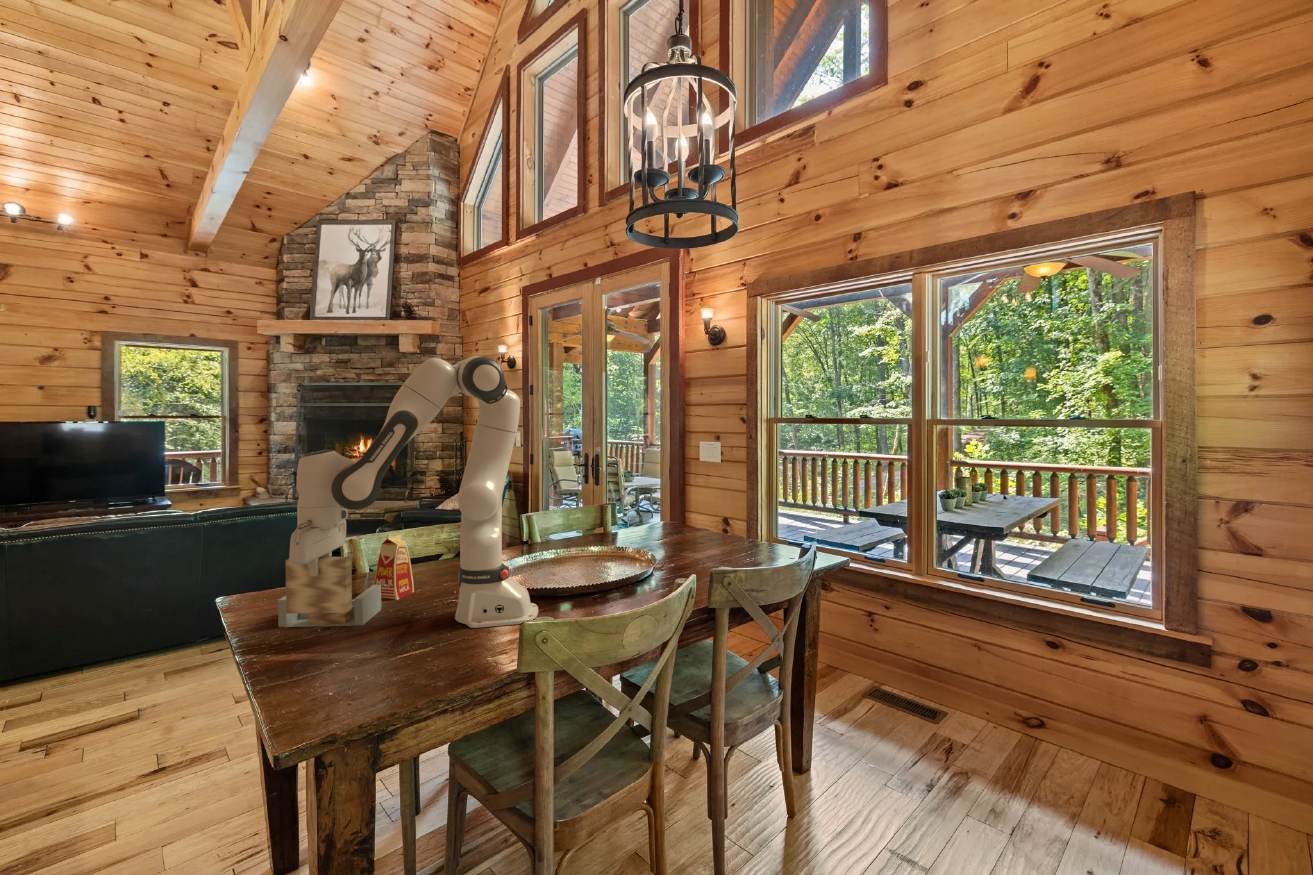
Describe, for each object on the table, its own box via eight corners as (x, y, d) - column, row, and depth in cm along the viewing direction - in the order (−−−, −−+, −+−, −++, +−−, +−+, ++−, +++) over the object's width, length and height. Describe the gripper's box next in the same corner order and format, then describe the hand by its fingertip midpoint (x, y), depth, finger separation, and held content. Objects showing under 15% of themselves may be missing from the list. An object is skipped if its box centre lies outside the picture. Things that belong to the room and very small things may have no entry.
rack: (381, 613, 162) (380, 584, 162) (362, 629, 150) (362, 598, 150) (303, 614, 161) (302, 585, 160) (278, 631, 149) (277, 600, 149)
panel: (352, 608, 144) (351, 556, 143) (346, 612, 141) (345, 559, 140) (293, 609, 143) (292, 557, 142) (286, 613, 140) (285, 560, 139)
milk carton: (397, 603, 170) (396, 536, 169) (370, 601, 172) (369, 535, 171) (416, 594, 179) (415, 530, 178) (390, 592, 181) (389, 529, 180)
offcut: (351, 618, 155) (351, 608, 155) (345, 623, 151) (344, 613, 151) (316, 619, 154) (316, 609, 154) (309, 624, 151) (308, 613, 150)
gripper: (309, 525, 130) (310, 585, 131) (350, 509, 151) (351, 562, 151) (280, 525, 130) (281, 586, 131) (325, 509, 150) (326, 562, 151)
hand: (319, 572), depth 141 cm, fingers closed on panel, 3 cm apart
